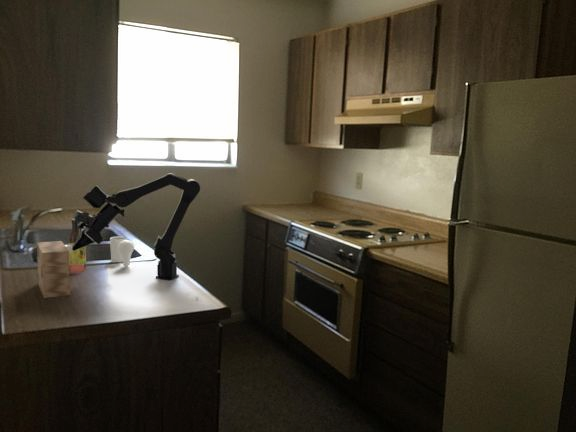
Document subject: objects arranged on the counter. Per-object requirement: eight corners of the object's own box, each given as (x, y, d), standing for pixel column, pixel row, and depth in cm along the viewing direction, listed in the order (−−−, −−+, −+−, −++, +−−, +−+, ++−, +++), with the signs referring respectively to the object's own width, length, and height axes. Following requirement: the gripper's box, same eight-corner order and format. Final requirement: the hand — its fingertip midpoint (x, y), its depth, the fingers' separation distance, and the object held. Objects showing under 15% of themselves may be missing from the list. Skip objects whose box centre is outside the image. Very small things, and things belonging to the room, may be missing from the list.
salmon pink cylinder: (83, 271, 183) (82, 262, 182) (84, 273, 180) (84, 264, 180) (61, 273, 179) (60, 264, 179) (62, 275, 177) (62, 266, 176)
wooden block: (62, 281, 193) (61, 240, 191) (70, 295, 177) (68, 250, 175) (38, 283, 189) (36, 242, 187) (43, 297, 173) (42, 252, 171)
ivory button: (71, 252, 191) (71, 243, 191) (72, 253, 189) (72, 245, 188) (50, 253, 188) (49, 245, 187) (51, 255, 185) (50, 246, 185)
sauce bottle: (83, 270, 208) (82, 220, 205) (67, 270, 208) (65, 220, 205) (88, 266, 215) (87, 218, 212) (72, 266, 214) (71, 217, 212)
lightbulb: (129, 268, 214) (129, 241, 212) (115, 267, 215) (115, 240, 213) (136, 265, 220) (136, 239, 218) (123, 264, 221) (123, 238, 219)
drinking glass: (129, 261, 226) (129, 238, 225) (114, 263, 221) (114, 240, 220) (121, 258, 231) (121, 235, 229) (107, 260, 226) (106, 237, 225)
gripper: (82, 199, 198) (51, 230, 194) (92, 206, 182) (58, 239, 178) (105, 219, 203) (75, 249, 199) (116, 227, 187) (83, 260, 183)
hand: (72, 249), depth 190 cm, fingers closed, pressing on ivory button
